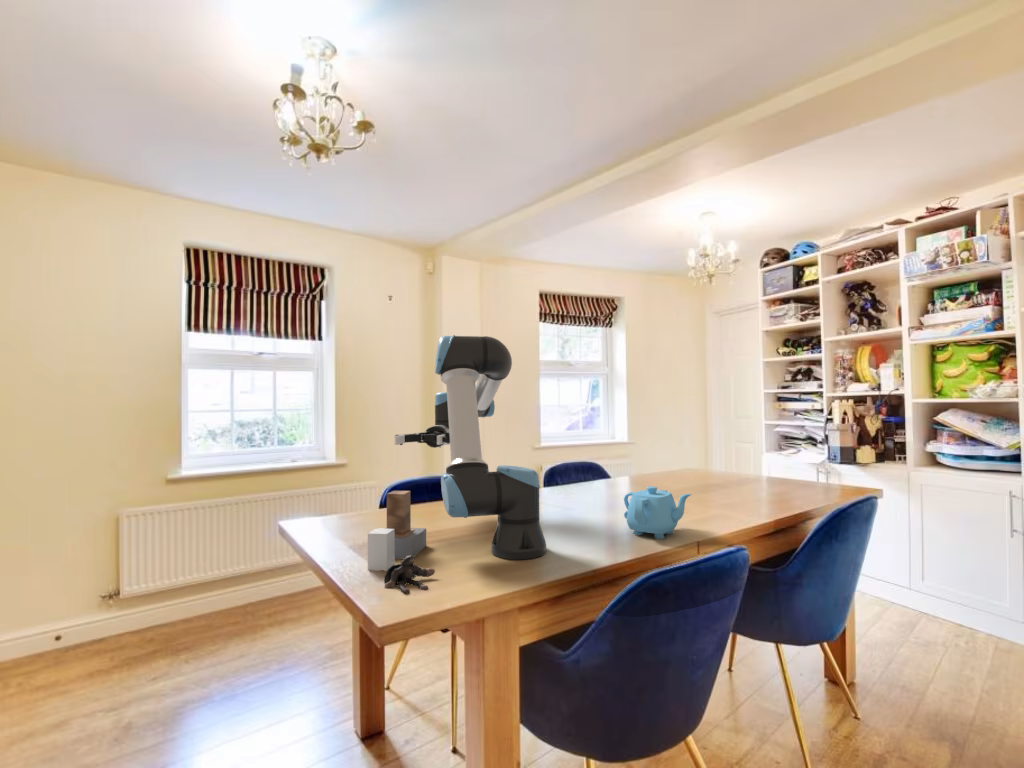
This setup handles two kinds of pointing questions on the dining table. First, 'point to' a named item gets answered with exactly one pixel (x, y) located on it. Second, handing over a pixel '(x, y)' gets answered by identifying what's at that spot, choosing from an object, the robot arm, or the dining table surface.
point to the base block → (410, 542)
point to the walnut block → (399, 511)
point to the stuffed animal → (406, 575)
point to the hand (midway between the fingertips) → (416, 440)
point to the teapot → (653, 511)
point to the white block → (381, 549)
